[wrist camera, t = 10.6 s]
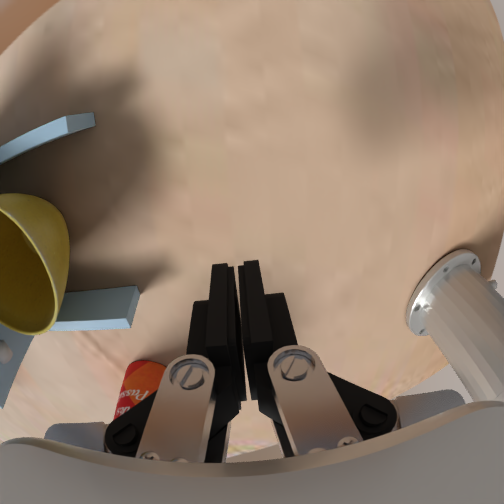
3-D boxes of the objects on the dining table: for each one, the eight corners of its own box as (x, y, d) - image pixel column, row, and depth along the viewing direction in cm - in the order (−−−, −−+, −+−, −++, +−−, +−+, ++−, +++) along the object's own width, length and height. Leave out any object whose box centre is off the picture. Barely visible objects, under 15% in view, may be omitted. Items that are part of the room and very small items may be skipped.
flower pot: (52, 142, 14) (-10, 167, 8) (118, 250, 19) (87, 312, 13) (-10, 209, 15) (-57, 248, 9) (47, 293, 20) (17, 347, 14)
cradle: (91, 92, 13) (-43, 100, 3) (145, 308, 22) (121, 434, 12) (-23, 149, 12) (-119, 202, 2) (38, 314, 21) (-5, 406, 11)
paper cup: (175, 353, 26) (171, 485, 14) (189, 391, 30) (192, 497, 18) (107, 353, 25) (82, 471, 13) (130, 391, 29) (119, 490, 17)
